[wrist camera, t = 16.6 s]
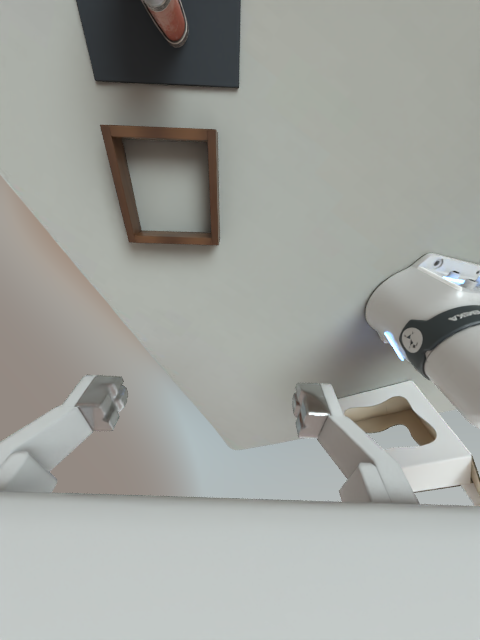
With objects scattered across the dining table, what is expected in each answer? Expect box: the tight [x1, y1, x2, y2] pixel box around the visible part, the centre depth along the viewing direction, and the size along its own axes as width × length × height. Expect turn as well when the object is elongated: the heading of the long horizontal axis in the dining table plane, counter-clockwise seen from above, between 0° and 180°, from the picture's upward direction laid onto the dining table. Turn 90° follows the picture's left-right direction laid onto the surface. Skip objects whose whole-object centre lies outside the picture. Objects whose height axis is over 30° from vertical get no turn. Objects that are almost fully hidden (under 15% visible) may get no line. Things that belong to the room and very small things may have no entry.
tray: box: [100, 125, 220, 245], centre depth 30 cm, size 13×13×3 cm
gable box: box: [338, 380, 480, 506], centre depth 49 cm, size 22×13×28 cm, turn 115°
